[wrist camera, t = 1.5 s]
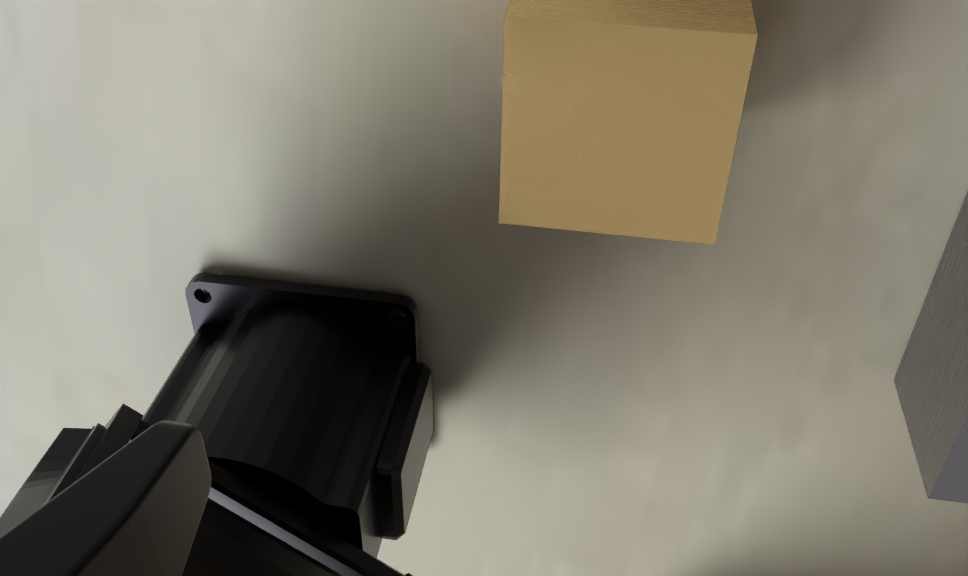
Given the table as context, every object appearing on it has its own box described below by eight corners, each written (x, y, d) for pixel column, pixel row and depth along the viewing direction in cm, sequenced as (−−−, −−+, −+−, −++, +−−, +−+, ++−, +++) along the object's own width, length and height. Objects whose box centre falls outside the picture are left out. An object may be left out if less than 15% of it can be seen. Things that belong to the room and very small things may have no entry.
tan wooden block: (529, 105, 21) (498, 223, 17) (538, -75, 19) (504, 16, 15) (705, 119, 21) (714, 244, 17) (738, -63, 18) (757, 34, 14)
